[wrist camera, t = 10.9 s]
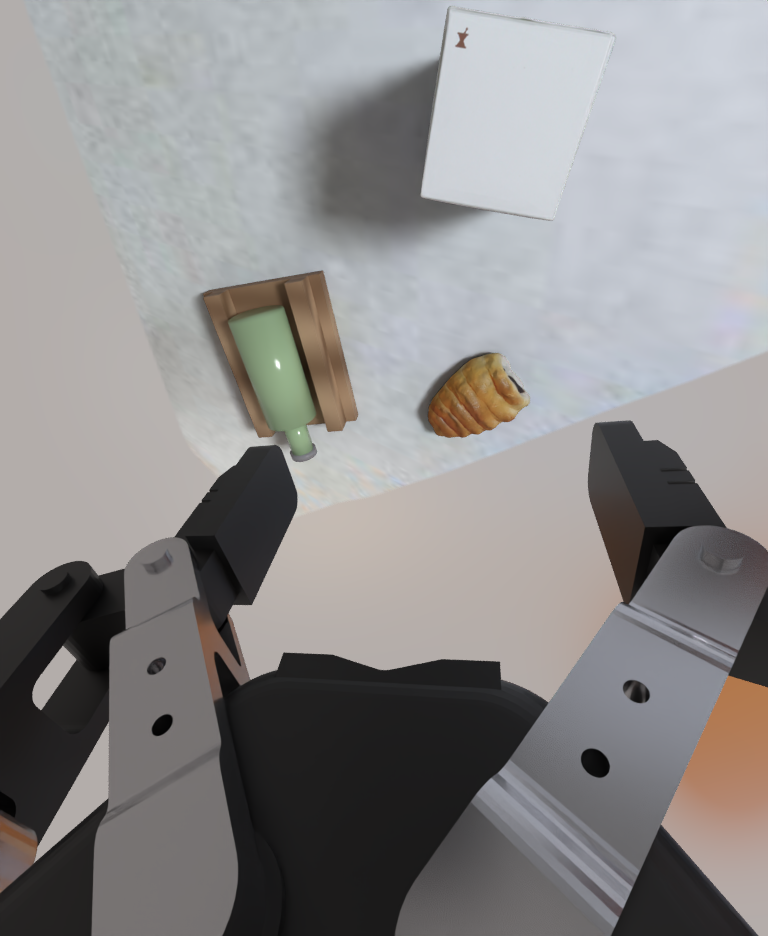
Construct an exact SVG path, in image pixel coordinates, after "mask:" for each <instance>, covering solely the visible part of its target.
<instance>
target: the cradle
mask: <svg viewBox="0 0 768 936" xmlns="http://www.w3.org/2000/svg"><path fill="white" fill-rule="evenodd" d="M203 295H204V297H203V299H204V301H205V304H206V306H207V309H208V311H209V314H210V316H211V319H212V321H213V324H214V326H215V329H216V331H217V334H218V336H219V339H220V341H221V344H222V346H223V349H224V351H225V354H226V356H227V359H228V362H229V364H230V367H231V369H232V372H233V374H234V377H235V379H236V382H237V384H238V387H239V389H240V392H241V394H242V397H243V399H244V402H245V404H246V407H247V409H248V412H249V414H250V417H251V419H252V422H253V424H254V427H255V429H256V432H257V434H258V437H259V438H261V437H272V436H273V435H274V433H275V432H276V431H273V430H271V429H269V428H268V426H267V423H266V420H265V418H264V415H263V413H262V410H261V407H260V405H259V402H258V400H257V397H256V394H255V392H254V389H253V387H252V384H251V381H250V379H249V376H248V374H247V371H246V368H245V366H244V363H243V361H242V358H241V355H240V353H239V350H238V348H237V345H236V342H235V340H234V337H233V334H232V332H231V329H230V327H229V324H228V320H229V319H231V318H232V317H234V316H236V315H238V314H240V313H243V312H245V311H248V310H252V309H255V308H259V307H264V306H271V305H281V306H283V307H284V309H285V312H286V316H287V319H288V322H289V325H290V329H291V332H292V335H293V338H294V342H295V345H296V348H297V351H298V355H299V358H300V361H301V364H302V367H303V371H304V374H305V377H306V380H307V384H308V387H309V390H310V393H311V397H312V400H313V403H314V406H315V410H316V416H315V417H314V418H313V420H311V421H310V422H309V423H307V424H306V425H312V424H323V423H325V424H326V427H327V431H328V432H331V431H342V430H343V428H344V426H345V423H346V421H356V419H357V417H358V412H357V408H356V403H355V399H354V395H353V391H352V387H351V383H350V379H349V375H348V371H347V367H346V363H345V359H344V354H343V350H342V346H341V342H340V338H339V334H338V330H337V326H336V322H335V318H334V314H333V310H332V305H331V301H330V297H329V293H328V289H327V285H326V281H325V277H324V273H323V271H317V272H311V273H305V274H300V275H294V276H288V277H282V278H277V279H271V280H265V281H259V282H254V283H248V284H242V285H236V286H231V287H225V288H219V289H213V290H209V291H207V292H205V293H203Z"/></svg>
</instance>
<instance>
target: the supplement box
mask: <svg viewBox="0 0 768 936" xmlns="http://www.w3.org/2000/svg"><path fill="white" fill-rule="evenodd" d="M615 41H616V36H615V34H613V33H611V32H607V31H601V30H595V29H589V28H582V27H576V26H570V25H564V24H558V23H552V22H546V21H540V20H535V19H531V18H526V17H514V16H508V15H501V14H495V13H489V12H484V11H478V10H472V9H466V8H461V7H455V6H450V7H449V8H448V9H447V15H446V21H445V27H444V34H443V40H442V47H441V53H440V59H439V66H438V73H437V79H436V86H435V92H434V99H433V105H432V112H431V119H430V126H429V134H428V141H427V148H426V156H425V164H424V171H423V179H422V186H421V194H420V196H421V197H422V198H426V199H430V200H434V201H439V202H445V203H450V204H455V205H460V206H466V207H471V208H476V209H482V210H488V211H493V212H499V213H505V214H511V215H517V216H522V217H528V218H535V219H542V220H549V221H553V220H554V218H555V214H556V211H557V208H558V205H559V202H560V199H561V196H562V193H563V190H564V187H565V184H566V181H567V178H568V175H569V172H570V170H571V167H572V164H573V161H574V158H575V155H576V153H577V150H578V147H579V144H580V141H581V138H582V135H583V133H584V130H585V127H586V124H587V121H588V118H589V116H590V113H591V110H592V107H593V104H594V101H595V98H596V95H597V93H598V90H599V87H600V84H601V81H602V78H603V75H604V72H605V70H606V67H607V64H608V61H609V58H610V55H611V52H612V50H613V47H614V44H615Z"/></svg>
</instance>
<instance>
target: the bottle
mask: <svg viewBox="0 0 768 936" xmlns="http://www.w3.org/2000/svg"><path fill="white" fill-rule="evenodd" d="M228 324H229V327H230V329H231V332H232V334H233V337H234V340H235V342H236V345H237V348H238V350H239V353H240V355H241V358H242V361H243V363H244V366H245V368H246V371H247V374H248V376H249V379H250V381H251V384H252V387H253V389H254V392H255V394H256V397H257V400H258V402H259V405H260V407H261V410H262V413H263V415H264V418H265V420H266V423H267V426H268V428H269V429H271V430H273V431H284V432H285V435H286V437H287V440H288V443H289V446H290V448H291V451H290V454H291V457H292V459H293V460H294V461H296V462H303V461H307V460H309V459H311V458H313V457H314V456H315V455H316V453H317V450H316V447H315V445H314V444H313V443H312V441H311V438H310V435H309V432H308V429H307V426H306V424H307V423H309V422H310V421H311V420H313V418H314V417H315V416H316V410H315V406H314V403H313V400H312V397H311V393H310V390H309V387H308V384H307V380H306V377H305V374H304V371H303V367H302V364H301V361H300V358H299V355H298V351H297V348H296V345H295V342H294V338H293V335H292V332H291V329H290V325H289V322H288V319H287V316H286V312H285V309H284V307H283V306H281V305H271V306H264V307H259V308H255V309H252V310H248V311H245V312H243V313H240V314H238V315H236V316H234V317H232V318H231V319H229V320H228Z"/></svg>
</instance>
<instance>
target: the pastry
mask: <svg viewBox="0 0 768 936" xmlns="http://www.w3.org/2000/svg"><path fill="white" fill-rule="evenodd" d="M523 387H524V385H523V383H522V381H521V380H520V378H519V377H517V375H516V374H515V373H514V372H513V371H512V370H511V366H510V363H509V361H508V360H507V359H506V357H505V356H503V355H502V354H499V353H492V354H487V355H483V356H480V357H476V358H473V359H471V360H470V361H468V362H467V363H466V364H464V365H463V366H462V367H461V368H460V369H459V370H458V371H457V372H456V373H455V374H454V375H452V376H451V377H450V378H449V380H448V381H447V382H446V383H445V384H444V386H443V387H442V388H441V389H440V391H439V392H438V393H437V394H436V395H435V396H434V398H433V399H432V401H431V404H430V406H429V411H428V420H429V422H430V424H431V425H432V427H433V428H434V431H435V433H436V434H437V435H438V436H445V437H448V438H450V437H467V436H468V435H470V434H480V433H482V432H483V431H485V430H492V429H494V428H495V427H496V426H497V425H498V424H499V423H501V422H510V421H512V420H513V419H514V418H515V416H516V415H517V414H518V412H519V411H520V410H521V409H522V408H524V407H525V406H528V404H529V403H530V396H529V394H528V393H527V392H526V391H525V390H524V389H523Z"/></svg>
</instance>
